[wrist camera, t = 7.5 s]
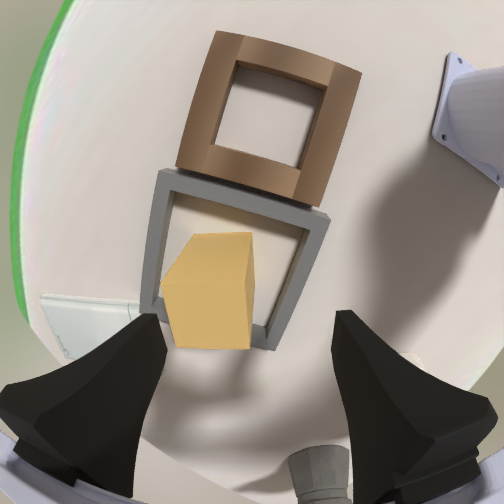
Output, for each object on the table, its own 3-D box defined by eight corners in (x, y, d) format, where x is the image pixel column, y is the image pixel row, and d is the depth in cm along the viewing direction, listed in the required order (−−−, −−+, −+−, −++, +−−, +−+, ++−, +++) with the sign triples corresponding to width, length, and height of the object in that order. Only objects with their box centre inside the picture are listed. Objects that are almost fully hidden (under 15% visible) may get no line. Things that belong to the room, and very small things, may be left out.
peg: (251, 231, 19) (244, 282, 12) (254, 284, 20) (249, 349, 14) (194, 234, 19) (160, 283, 13) (201, 284, 21) (176, 347, 14)
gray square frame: (326, 213, 18) (331, 220, 17) (274, 339, 22) (274, 351, 21) (166, 168, 17) (158, 170, 16) (145, 302, 22) (138, 312, 20)
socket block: (354, 77, 14) (362, 73, 13) (314, 202, 18) (318, 207, 16) (220, 38, 14) (216, 30, 12) (182, 164, 17) (175, 166, 16)
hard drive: (65, 359, 24) (161, 378, 24) (37, 298, 21) (138, 308, 20) (72, 350, 26) (166, 366, 25) (46, 290, 23) (146, 297, 22)
